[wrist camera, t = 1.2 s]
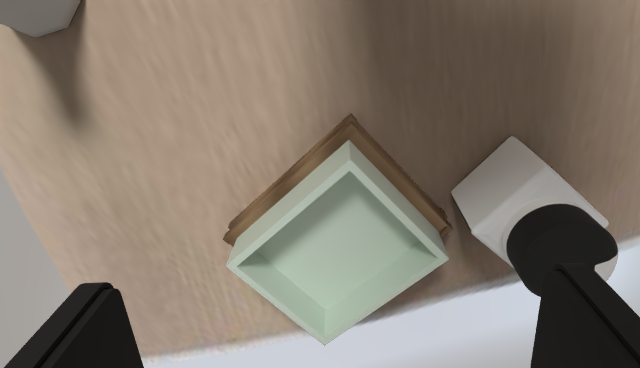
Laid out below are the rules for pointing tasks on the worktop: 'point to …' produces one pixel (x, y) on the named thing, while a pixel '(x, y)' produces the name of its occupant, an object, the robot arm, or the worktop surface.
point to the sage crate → (337, 246)
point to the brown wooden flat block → (318, 155)
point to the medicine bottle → (532, 216)
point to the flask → (37, 15)
